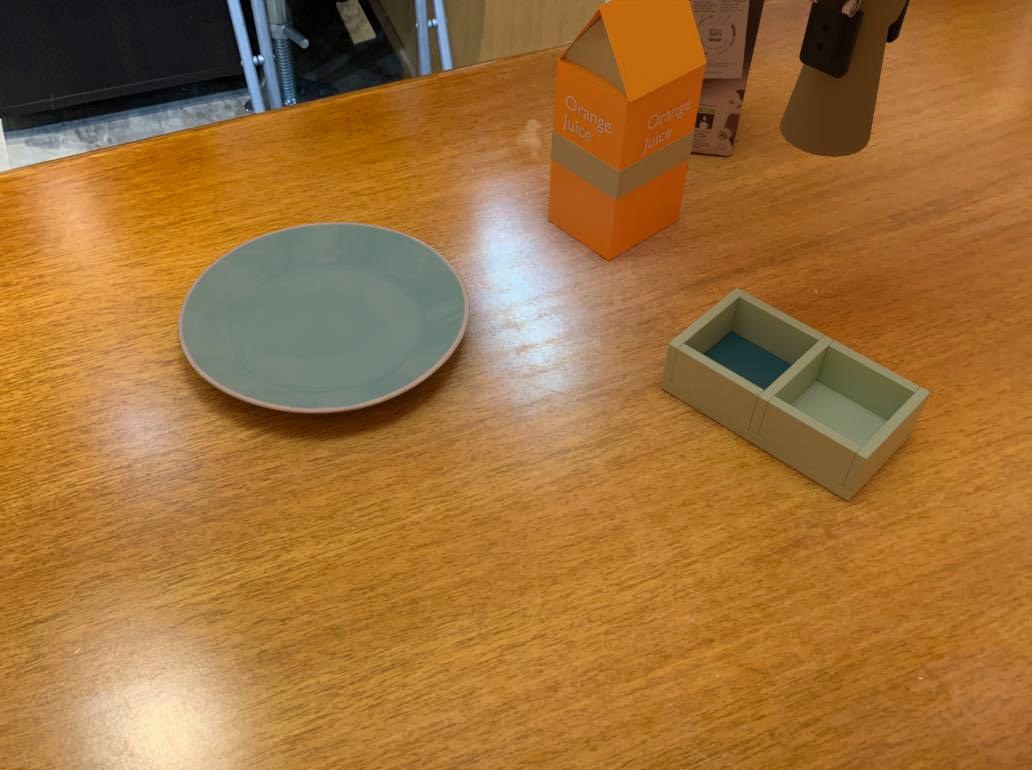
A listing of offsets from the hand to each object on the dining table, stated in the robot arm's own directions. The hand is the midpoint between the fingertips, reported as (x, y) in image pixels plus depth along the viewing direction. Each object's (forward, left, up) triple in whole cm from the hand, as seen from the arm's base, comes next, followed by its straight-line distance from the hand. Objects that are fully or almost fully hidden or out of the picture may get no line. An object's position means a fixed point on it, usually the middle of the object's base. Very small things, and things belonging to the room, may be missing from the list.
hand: (848, 48), depth 69 cm
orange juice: (+18, -2, -23) cm, 29 cm away
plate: (+25, +25, -23) cm, 42 cm away
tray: (-6, +8, -23) cm, 25 cm away
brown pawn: (0, 0, -6) cm, 6 cm away
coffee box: (+21, -19, -23) cm, 36 cm away
